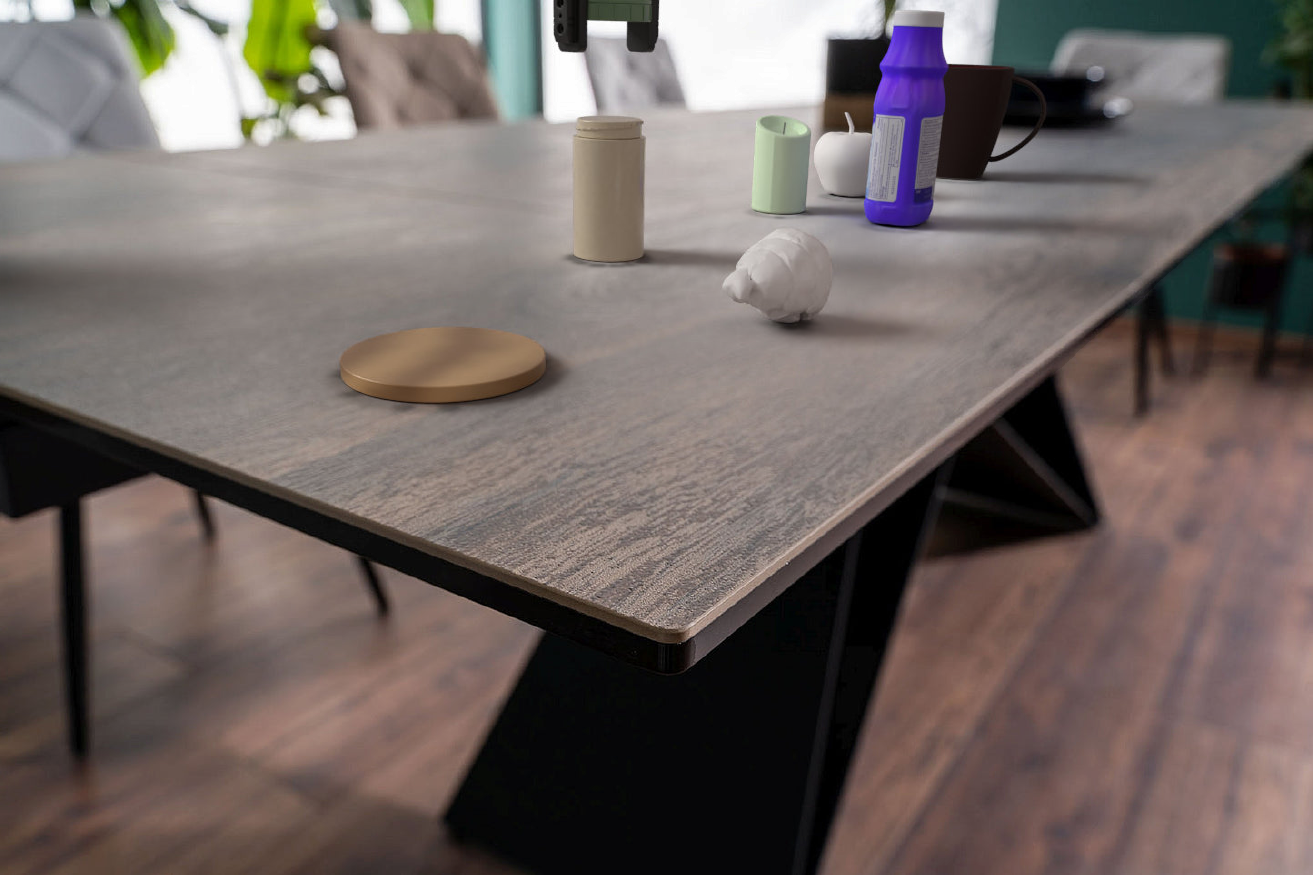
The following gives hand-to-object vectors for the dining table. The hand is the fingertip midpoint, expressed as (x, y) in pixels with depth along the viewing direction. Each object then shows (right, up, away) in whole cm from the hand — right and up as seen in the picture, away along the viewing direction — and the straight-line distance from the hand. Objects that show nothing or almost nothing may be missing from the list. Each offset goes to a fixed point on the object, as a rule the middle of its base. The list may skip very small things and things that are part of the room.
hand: (607, 51), depth 74 cm
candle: (+15, -6, +26) cm, 30 cm away
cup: (+40, +3, +49) cm, 63 cm away
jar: (0, -13, +6) cm, 14 cm away
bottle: (+25, -8, +21) cm, 33 cm away
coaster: (-7, -23, -21) cm, 32 cm away
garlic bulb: (+10, -20, -11) cm, 25 cm away
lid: (0, +3, -1) cm, 3 cm away
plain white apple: (+23, -2, +35) cm, 42 cm away
